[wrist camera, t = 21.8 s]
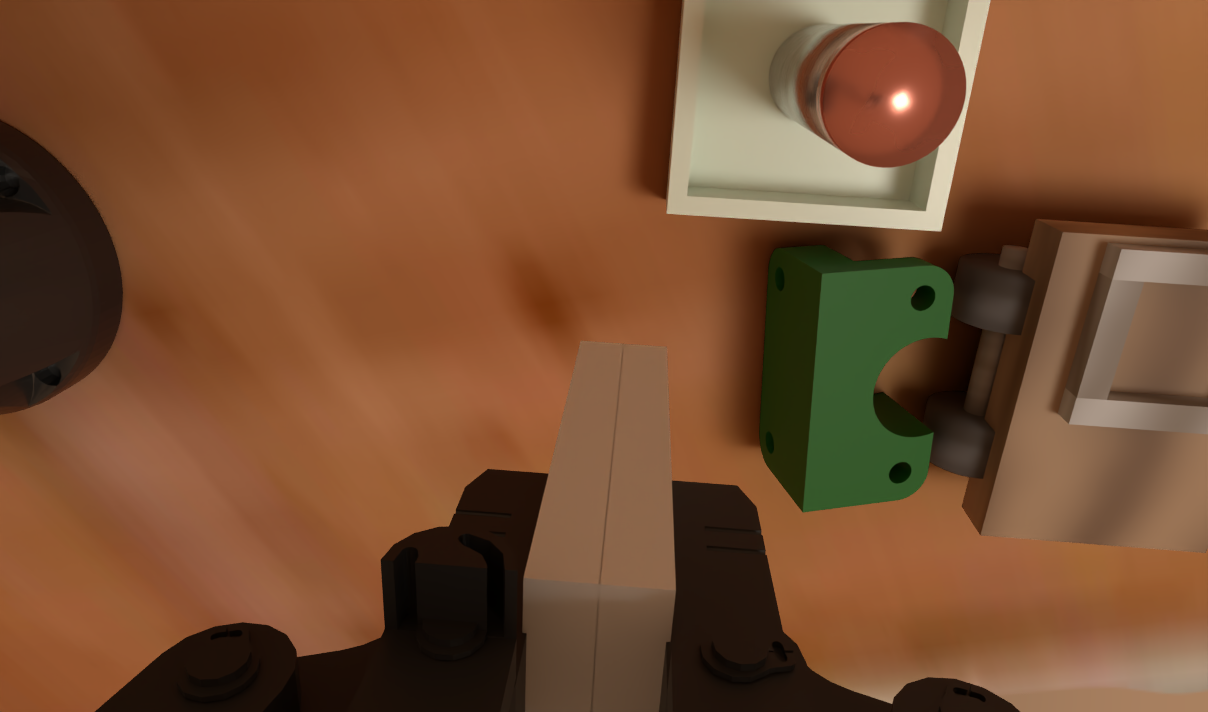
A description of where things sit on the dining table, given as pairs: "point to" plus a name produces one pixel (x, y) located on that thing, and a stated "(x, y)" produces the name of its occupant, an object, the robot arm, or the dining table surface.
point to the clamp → (844, 374)
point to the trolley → (1084, 388)
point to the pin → (871, 88)
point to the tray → (779, 144)
